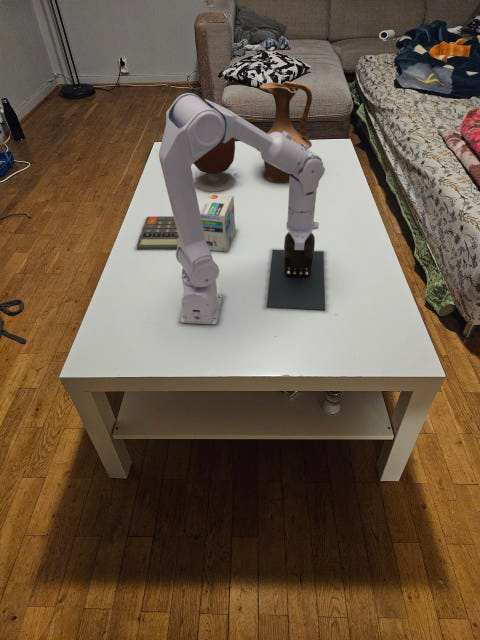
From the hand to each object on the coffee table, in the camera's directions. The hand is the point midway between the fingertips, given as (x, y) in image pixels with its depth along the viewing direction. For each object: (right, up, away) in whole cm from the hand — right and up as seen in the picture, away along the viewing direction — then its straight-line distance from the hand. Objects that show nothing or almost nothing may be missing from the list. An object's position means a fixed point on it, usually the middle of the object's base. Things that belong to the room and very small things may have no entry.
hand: (297, 257), depth 107 cm
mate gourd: (-22, +29, +39) cm, 54 cm away
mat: (0, -5, +3) cm, 5 cm away
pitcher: (0, +32, +41) cm, 53 cm away
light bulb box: (-19, +7, +16) cm, 26 cm away
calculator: (-35, +9, +19) cm, 41 cm away
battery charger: (0, -4, +3) cm, 5 cm away
